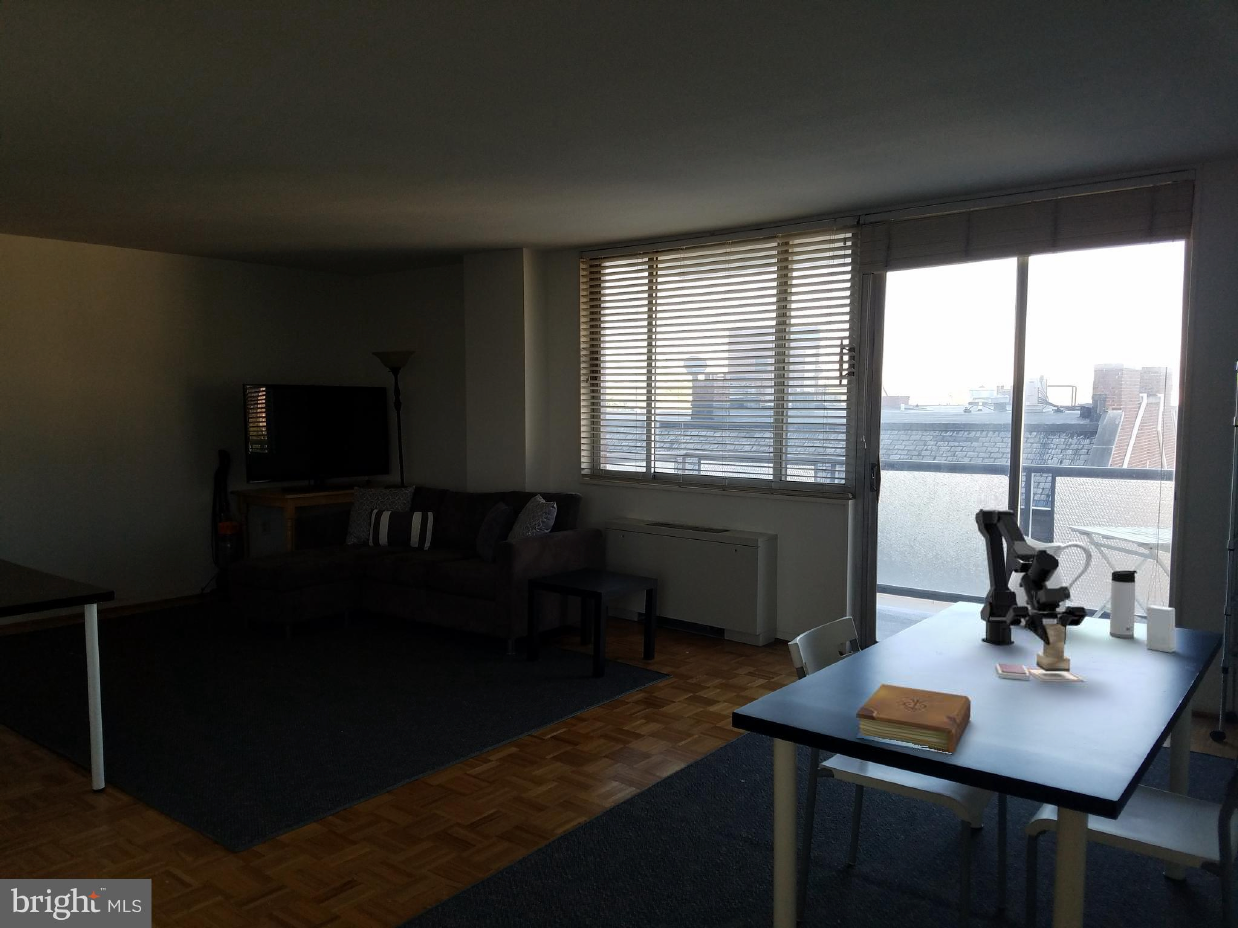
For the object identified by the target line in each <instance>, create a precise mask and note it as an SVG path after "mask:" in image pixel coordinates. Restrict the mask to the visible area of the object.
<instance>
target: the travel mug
mask: <svg viewBox="0 0 1238 928" xmlns="http://www.w3.org/2000/svg"><path fill="white" fill-rule="evenodd" d="M1136 574H1138V571H1137V570H1135V569H1133V570H1115V571H1112V572H1111V579H1110V580H1111V583H1110V586H1111V587H1110V614H1109V615H1110V617H1109V635H1110V636H1112V637H1113V636H1115V638H1118V637H1119V638H1120V639H1133V638H1134V636H1135V611H1136V610H1135V609H1136V606H1135V603H1136ZM1119 638H1118V639H1119Z"/></svg>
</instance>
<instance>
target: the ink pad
mask: <svg viewBox="0 0 1238 928" xmlns="http://www.w3.org/2000/svg"><path fill="white" fill-rule="evenodd" d="M994 667H995V671H996V673H997V675H998V678H999V679H1000V678H1001V679H1012V680H1024V681H1030V680H1031V679H1030V678H1031V676H1030V675H1031V674H1030V673H1028V671H1027V669H1026V668H1027V667H1026V665H1022V664H1013V663H995V666H994Z"/></svg>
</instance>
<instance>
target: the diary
mask: <svg viewBox="0 0 1238 928" xmlns="http://www.w3.org/2000/svg"><path fill="white" fill-rule="evenodd" d="M971 702H972V701H971V699H970V698H969V697H968V696H967V695H961V694H955V693H949V692H947V693H946V692H942V691H934V690H929V689H928V690H926V689H919V688H915V687H908V686H907V687H905V686H899V685H892V684H886V683H881V685H880V686H879V687H878V688H877V689H876V690H875V691H874V693H872V695H871V696H869V698H868V699H867V701H865V703H864V704H863V705H862V706H861V707H860V708H859V710H857V712H856V713H855V717H856V719H859V731H860V734H863V735H866V736H873V737H878V738H882V739H889V740H896V741H901V742H906V743H912V744H914V745H918V746H919V745H920V746H928V747H921V748H929V749H934V750H937V751H942V752H948V753H953V754H954V752H955V750H956V748H957V746H958V744H959V742H960V740H961V738H962V736H963V734H964V732H965V730H966V728H967V726H968V724H969V721H970V720H971V708H972V707H971V705H972V704H971Z"/></svg>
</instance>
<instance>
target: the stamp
mask: <svg viewBox="0 0 1238 928" xmlns="http://www.w3.org/2000/svg"><path fill="white" fill-rule="evenodd" d="M1044 627H1045V629H1046V632H1047V634H1048V637H1049V641H1050V645H1046V644H1045V643H1044V642H1043V651H1042V653H1041V652H1036V666H1037V668H1041V669H1043V670H1044V671H1046V672H1071V658H1069V657H1068V656H1066V655H1065V645H1064V640H1065V627H1063V626H1061V625H1059V624H1044Z"/></svg>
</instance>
